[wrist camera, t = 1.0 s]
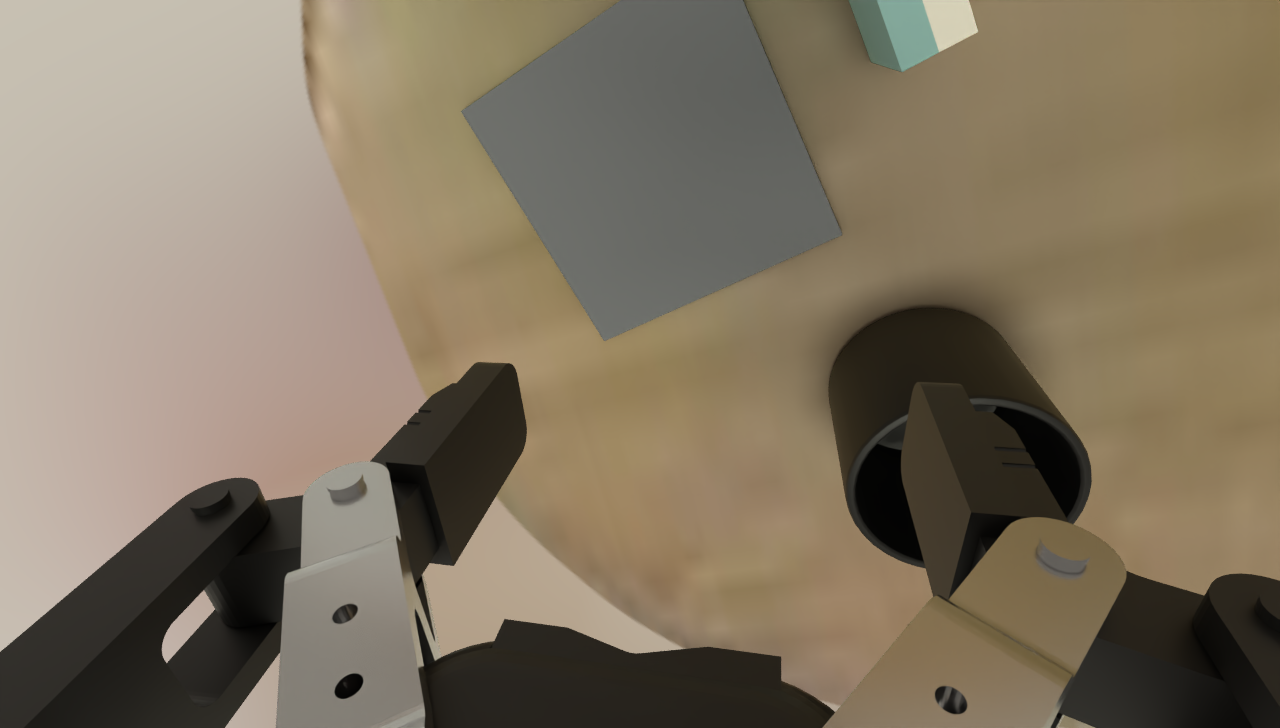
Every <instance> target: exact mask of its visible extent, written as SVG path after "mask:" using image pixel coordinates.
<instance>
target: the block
mask: <svg viewBox="0 0 1280 728" xmlns="http://www.w3.org/2000/svg"><path fill="white" fill-rule="evenodd" d="M849 3H850V5H851V8H852V11H853V14H854V16H855V19H856V22H857V25H858V27H859V30H860V33H861V36H862V38H863V41H864V44H865V47H866V49H867V52H868V55H869V58H870V60H871V62H872V63H875V64H878V65H881V66H885V67H888V68H891V69H894V70H897V71H900V72H903V71H905V70H907V69H909V68H911V67H913V66H914V65H916V64H918V63H920V62H922V61H924V60H926V59H928V58H930V57H931V56H933V55H935V54H937V53H939V52H941V51H943V50H945V49H947V48H948V47H950V46H952V45H954V44H956V43H958V42H960V41H962V40H964V39H965V38H967V37H969V36H971V35H973V34H975V33H977V32H978V30H977V26H976V23H975V20H974V16H973V13H972V9H971V6H970V3H969V0H849Z"/></svg>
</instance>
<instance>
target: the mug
mask: <svg viewBox="0 0 1280 728" xmlns="http://www.w3.org/2000/svg"><path fill="white" fill-rule="evenodd" d="M917 382H929V383H952V384H961V385H962V386H963V388H964V390H965V392H966V393H967V395H968V397H969V399H970V401H971V403H972V405H973V407H974V409H975V411H982V412H993V413H994V414H995V415H997V416H998V417H999V418H1001V419H1002V420H1003V421H1004V422H1006V423H1007V424H1008V425H1010V426H1011V427H1012V428H1014V429H1015V431H1016V433H1017V434H1018V436H1019V438H1020V439H1021V441H1022V443H1023V445H1024V446H1025V448H1026V452H1027V453H1029V455H1030V457H1031V458H1032V460H1033V462H1034V463H1035V469H1038V470H1039V472H1040V474H1041V476H1042V477H1043V479H1044V481H1045V482H1046V484H1047V486H1048V488H1049V489H1050V491H1051V493H1052V494H1053V496H1054V498H1055V500H1056V501H1057V503H1058V505H1059V506H1060V508H1061V510H1062V512H1063V513H1064V515H1065V517H1066V518H1067V520H1068V522H1069V523H1071V524H1074V523H1075V521H1076V520H1077V518H1078V517H1079V515H1080V514H1081V512H1082V511H1083V509H1084V507H1085V504H1086V502H1087V500H1088V497H1089V493H1090V488H1091V482H1092V481H1091V465H1090V461H1089V457H1088V453H1087V451H1086V449H1085V447H1084V445H1083V443H1082V442H1081V440H1080V438H1079V437H1078V435H1077V434H1076V433H1075V432H1074V430H1073V429H1072V428H1071V426H1070V425H1069V424H1068V422H1067V421H1066V420H1065V418H1064V417H1063V416H1062V415H1061V413H1060V412H1059V411H1058V409H1057V408H1056V407H1055V405H1054V404H1053V403H1052V401H1051V400H1050V399H1049V397H1048V396H1047V395H1046V394H1045V392H1044V391H1043V390H1042V388H1041V387H1040V386H1039V384H1038V383H1037V382H1036V380H1035V379H1034V378H1033V377H1032V375H1031V374H1030V373H1029V371H1028V370H1027V369H1026V367H1025V366H1024V365H1023V363H1022V362H1021V361H1020V360H1019V358H1018V357H1017V356H1016V354H1015V353H1014V352H1013V350H1012V349H1011V348H1010V346H1009V345H1008V344H1007V343H1006V341H1005V340H1004V339H1003V338H1002V336H1001V335H1000V334H999V333H998V332H997V331H996V330H995V329H993V328H992V327H991V326H990V325H988V324H987V323H985V322H983V321H981V320H980V319H978V318H976V317H974V316H971V315H968V314H965V313H962V312H958V311H953V310H948V309H934V308H925V309H913V310H909V311H904V312H900V313H896V314H894V315H891V316H888V317H885V318H883V319H881V320H879V321H877V322H875V323H873V324H872V325H870V326H868V327H867V328H866V329H864V330H863V331H861V332H860V333H859V334H858V335H857V336H856V337H855V338H854V339H852V340H851V341H850V343H849V344H848V345H847V346H846V347H845V348H844V350H843V351H842V352H841V354H840V355H839V357H838V359H837V361H836V363H835V365H834V367H833V370H832V373H831V376H830V381H829V402H830V408H831V414H832V420H833V426H834V432H835V438H836V444H837V450H838V456H839V461H840V467H841V473H842V479H843V485H844V491H845V497H846V501H847V505H848V509H849V512H850V514H851V516H852V519H853V521H854V523H855V524H856V526H857V527H858V528H859V530H860V531H861V532H862V534H863V535H864V536H865V537H866V538H867V539H868V540H869V541H870V542H871V543H872V544H873V545H874V546H876V547H877V548H879V549H880V550H882V551H883V552H885V553H886V554H888V555H890V556H892V557H894V558H896V559H898V560H900V561H902V562H905V563H908V564H911V565H914V566H917V567H922V568H926V567H925V564H924V560H923V556H922V552H921V549H920V545H919V541H918V538H917V534H916V530H915V526H914V523H913V519H912V515H911V512H910V508H909V504H908V500H907V497H906V493H905V489H904V486H903V481H902V474H901V454H902V447H903V441H904V435H905V430H906V424H907V419H908V413H909V407H910V402H911V396H912V391H913V388H914V385H915V384H916V383H917Z"/></svg>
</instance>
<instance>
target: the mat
mask: <svg viewBox="0 0 1280 728" xmlns="http://www.w3.org/2000/svg"><path fill="white" fill-rule="evenodd" d="M461 112H462V114H463V115H464V117H465V118H466V120H467V122H468V123H469V125H470V126H471V128H472V130H473V131H474V133H475V134H476V136H477V138H478V139H479V141H480V143H481V144H482V146H483V147H484V149H485V151H486V152H487V154H488V155H489V157H490V159H491V160H492V162H493V163H494V165H495V167H496V168H497V170H498V171H499V173H500V175H501V176H502V178H503V179H504V181H505V183H506V184H507V186H508V187H509V189H510V191H511V192H512V194H513V195H514V197H515V199H516V200H517V202H518V203H519V205H520V207H521V208H522V210H523V211H524V213H525V215H526V216H527V218H528V220H529V221H530V223H531V224H532V226H533V228H534V229H535V231H536V232H537V234H538V236H539V237H540V239H541V240H542V242H543V244H544V245H545V247H546V248H547V250H548V252H549V253H550V255H551V256H552V258H553V260H554V261H555V263H556V264H557V266H558V268H559V269H560V271H561V272H562V274H563V276H564V277H565V279H566V280H567V282H568V284H569V285H570V287H571V289H572V290H573V292H574V293H575V295H576V297H577V298H578V300H579V301H580V303H581V305H582V306H583V308H584V309H585V311H586V313H587V314H588V316H589V317H590V319H591V321H592V322H593V324H594V325H595V327H596V329H597V330H598V332H599V333H600V335H601V337H602V338H603V340H604V341H606V340H608V339H610V338H612V337H615V336H617V335H619V334H621V333H624V332H626V331H628V330H630V329H633V328H635V327H637V326H639V325H642V324H644V323H646V322H648V321H651V320H653V319H655V318H657V317H659V316H662V315H664V314H666V313H668V312H671V311H673V310H675V309H677V308H680V307H682V306H684V305H686V304H689V303H691V302H693V301H695V300H698V299H700V298H702V297H704V296H707V295H709V294H711V293H713V292H715V291H718V290H720V289H722V288H724V287H727V286H729V285H731V284H733V283H736V282H738V281H740V280H742V279H745V278H747V277H749V276H751V275H754V274H756V273H758V272H760V271H763V270H765V269H767V268H769V267H772V266H774V265H776V264H778V263H780V262H783V261H785V260H787V259H789V258H792V257H794V256H796V255H798V254H801V253H803V252H805V251H807V250H810V249H812V248H814V247H816V246H819V245H821V244H823V243H825V242H828V241H830V240H832V239H834V238H836V237H839V236H841V235H842V232H841V230H840V227H839V225H838V223H837V220H836V218H835V216H834V213H833V211H832V209H831V206H830V204H829V202H828V199H827V197H826V195H825V192H824V190H823V187H822V185H821V183H820V180H819V178H818V176H817V173H816V171H815V169H814V166H813V164H812V162H811V159H810V157H809V154H808V152H807V150H806V147H805V145H804V143H803V140H802V138H801V136H800V133H799V131H798V129H797V126H796V124H795V121H794V119H793V117H792V114H791V112H790V110H789V107H788V105H787V103H786V100H785V98H784V96H783V93H782V91H781V88H780V86H779V84H778V81H777V79H776V77H775V74H774V72H773V70H772V67H771V65H770V63H769V60H768V58H767V56H766V53H765V51H764V48H763V46H762V44H761V41H760V39H759V37H758V34H757V32H756V30H755V27H754V25H753V23H752V20H751V18H750V15H749V13H748V11H747V8H746V6H745V4H744V1H743V0H621V1H619V2H618V3H616V4H615V5H613V6H612V7H610V8H609V9H608V10H606V11H605V12H603V13H602V14H600V15H599V16H598V17H596V18H595V19H593V20H592V21H590V22H589V23H587V24H586V25H585V26H583V27H582V28H580V29H579V30H577V31H576V32H575V33H573V34H572V35H570V36H569V37H567V38H566V39H564V40H563V41H562V42H560V43H559V44H557V45H556V46H554V47H553V48H552V49H550V50H549V51H547V52H546V53H544V54H543V55H541V56H540V57H539V58H537V59H536V60H534V61H533V62H531V63H530V64H529V65H527V66H526V67H524V68H523V69H521V70H520V71H518V72H517V73H516V74H514V75H513V76H511V77H510V78H508V79H507V80H506V81H504V82H503V83H501V84H500V85H498V86H497V87H495V88H494V89H493V90H491V91H490V92H488V93H487V94H485V95H484V96H483V97H481V98H480V99H478V100H477V101H475V102H474V103H472V104H471V105H470V106H468V107H467V108H465V109H464V110H462V111H461Z"/></svg>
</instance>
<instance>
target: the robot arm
mask: <svg viewBox="0 0 1280 728" xmlns="http://www.w3.org/2000/svg"><path fill="white" fill-rule="evenodd" d="M526 434H527V427H526V420H525V415H524V409H523V404H522V398H521V393H520V388H519V382H518V377H517V372H516V370H515V368H514V366H513V365H512V364H509V363H486V362H477V363H475V364H474V365H473V366H472V367H471V368H470V369H469V370H468V371H467V372H466V374H465V375H464V376H463V377H462V378H461V379H460V380H459V381H458V382H457V383H452V384H451V385H449V386H447V387H446V388H444V389H442V390H440V391H439V392H437V393H435V394H434V395H432V396H431V397H430V398H429V399H428V400H427V401H426V402H425V403H424V404H423V406H422V407H421V408H420V409H419V412H418V413H415V414H414V415H413V416H412V417H411V418H410V420H408V423H407V425H404V426H403V427H402V428H401V429H400V430H399V431H398V432H397V433H396V434H395V435H394V436H393V437H392V439H391V440H390V441H389V442H388V443H387V444H386V445H385V446H384V447H383V448H382V449H381V450H380V451H379V452H378V453H377V454H376V456H375V457H374V458H373V459H372V460H371V461H370V462H357V463H351V464H347V465H344V466H341V467H338V468H335V469H333V470H331V471H329V472H327V473H326V474H324V475H322V476H321V477H319V478H318V479H317V480H315V481H314V482H313V483H312V484H311V485H310V486H309V487H308V489H307V490H306V491H305V494H304V495H302V496H295V497H288V498H281V499H274V500H267V501H265V499H264V496H263V495H262V492H261V490H260V488H259V486H258V484H257V483H256V482H255V481H253V480H251V479H247V478H231V479H226V480H221V481H218V482H214V483H211V484H209V485H206V486H204V487H201V488H199V489H197V490H195V491H193V492H192V493H190V494H188V495H187V496H185V497H184V498H182V499H181V500H180V501H178V502H177V503H176V504H175V505H173V506H172V507H171V508H170V509H169V510H167V511H166V512H165V513H164V514H163V515H162V516H160V517H159V518H158V519H157V520H156V521H154V522H153V523H152V524H151V525H150V526H149V527H147V528H146V529H145V530H144V531H143V532H142V533H140V534H139V535H138V536H137V537H136V538H134V539H133V540H132V541H131V542H130V543H128V544H127V545H126V546H125V547H124V548H123V549H121V550H120V551H119V552H118V553H117V554H116V555H114V556H113V557H112V558H111V559H110V560H108V561H107V562H106V563H105V564H104V565H103V566H101V567H100V568H99V569H98V570H97V571H95V572H94V573H93V574H92V575H91V576H90V577H88V578H87V579H86V580H85V581H84V582H83V583H81V584H80V585H79V586H78V587H77V588H75V589H74V590H73V591H72V592H71V593H69V594H68V595H67V596H66V597H65V598H64V599H63V600H61V601H60V602H59V603H58V604H57V605H55V606H54V607H53V608H52V609H51V610H49V611H48V612H47V613H46V614H45V615H43V616H42V617H41V618H40V619H39V620H38V621H36V622H35V623H34V624H33V625H32V626H31V627H29V628H28V629H27V630H26V631H25V632H23V633H22V634H21V635H20V636H19V637H17V638H16V639H15V640H14V641H13V642H12V643H10V644H9V645H8V646H7V647H6V648H4V649H3V650H2V651H1V652H0V728H225V727H226V725H227V724H228V722H229V721H230V720H231V718H232V717H233V716H234V714H235V713H236V711H237V710H238V709H239V707H240V706H241V705H242V703H243V702H244V700H245V699H246V698H247V696H248V695H249V693H250V692H251V691H252V689H253V688H254V687H255V686H256V684H257V683H258V681H259V680H260V679H261V677H262V676H263V675H264V673H265V672H266V670H267V669H268V668H269V666H270V665H271V664H272V662H273V661H274V660H275V658H276V657H277V655H278V654H279V653H280V667H279V668H280V669H279V684H278V685H279V686H278V702H277V719H276V728H1058V726H1059V724H1060V722H1061V720H1062V718H1063V716H1064V715H1066V716H1068V717H1071V718H1073V719H1076V720H1078V721H1081V722H1083V723H1086V724H1088V725H1090V726H1093V727H1095V728H1280V581H1278V580H1275V579H1271V578H1267V577H1263V576H1257V575H1252V574H1229V575H1224V576H1221V577H1219V578H1217V579H1215V580H1214V581H1213V582H1212V583H1211V585H1210V587H1209V589H1208V591H1207V592H1206V594H1205V596H1203V595H1200V594H1197V593H1193V592H1190V591H1187V590H1183V589H1180V588H1177V587H1173V586H1170V585H1166V584H1163V583H1160V582H1156V581H1153V580H1150V579H1147V578H1144V577H1141V576H1138V575H1135V574H1133V573H1130V572H1128V571H1126V568H1125V565H1124V563H1123V561H1122V560H1121V558H1120V556H1119V555H1118V554H1117V553H1116V552H1115V550H1114V549H1113V548H1111V547H1110V546H1109V545H1108V544H1107V543H1106V542H1104V541H1103V540H1102V539H1100V538H1099V537H1097V536H1096V535H1094V534H1092V533H1091V532H1089V531H1087V530H1085V529H1083V528H1081V527H1078V526H1076V525H1073V524H1071V523H1069V522H1068V520H1067V518H1066V517H1065V515H1064V513H1063V512H1062V510H1061V508H1060V506H1059V505H1058V503H1057V501H1056V500H1055V498H1054V496H1053V494H1052V493H1051V491H1050V489H1049V488H1048V486H1047V484H1046V482H1045V481H1044V479H1043V477H1042V476H1041V474H1040V472H1039V470H1038V469H1035V463H1034V462H1033V460H1032V458H1031V457H1030V455H1029V453H1027V452H1026V448H1025V446H1024V445H1023V443H1022V441H1021V439H1020V438H1019V436H1018V434H1017V433H1016V431H1015V429H1014V428H1012V427H1011V426H1010V425H1008V424H1007V423H1006V422H1004V421H1003V420H1002V419H1001V418H999V417H998V416H997V415H995V414H994V413H993V412H982V411H975V409H974V407H973V405H972V403H971V401H970V399H969V397H968V395H967V393H966V392H965V390H964V388H963V386H962V385H961V384H952V383H929V382H917V383H916V384H915V385H914V388H913V391H912V396H911V402H910V407H909V413H908V419H907V424H906V430H905V435H904V441H903V447H902V454H901V474H902V481H903V486H904V489H905V493H906V497H907V500H908V504H909V508H910V512H911V515H912V519H913V523H914V526H915V530H916V534H917V538H918V541H919V545H920V549H921V552H922V556H923V560H924V564H925V567H926V571H927V575H928V578H929V582H930V586H931V590H932V593H933V598H931V599H930V600H929V601H928V602H927V604H926V605H925V606H924V607H923V608H922V609H921V611H920V612H919V613H918V614H917V615H916V617H915V618H914V619H913V620H912V621H911V623H910V624H909V625H908V626H907V627H906V628H905V630H904V631H903V632H902V633H901V634H900V636H899V637H898V638H897V639H896V640H895V642H894V643H893V644H892V645H891V646H890V648H889V649H888V650H887V651H886V652H885V654H884V655H883V656H882V657H881V658H880V660H879V661H878V662H877V663H876V664H875V666H874V667H873V668H872V669H871V670H870V672H869V673H868V674H867V675H866V676H865V677H864V679H863V680H862V681H861V682H860V683H859V685H858V686H857V687H856V688H855V689H854V691H853V692H852V693H851V694H850V695H849V697H848V698H847V699H846V700H845V701H844V703H843V704H842V705H841V706H840V707H839V709H838V710H837V711H836V712H834V711H833V710H832V709H831V708H830V707H828V706H827V705H825V704H824V703H822V702H821V701H819V700H818V699H816V698H815V697H814V696H812V695H810V694H808V693H806V692H804V691H803V690H801V689H799V688H797V687H795V686H793V685H790V684H788V683H785V682H783V681H781V657H779V656H772V655H764V654H757V653H750V652H742V651H735V650H728V649H720V648H713V647H701V648H691V649H681V650H671V651H660V652H650V653H641V654H640V653H639V654H634V653H629V652H626V651H623V650H620V649H618V648H616V647H613V646H611V645H608V644H606V643H604V642H601V641H599V640H596V639H594V638H591V637H589V636H587V635H584V634H582V633H579V632H577V631H574V630H572V629H569V628H565V627H558V626H550V625H543V624H536V623H529V622H521V621H514V620H507V619H505V620H504V622H503V624H502V626H501V628H500V630H499V633H498V634H497V637H496V639H495V641H493V642H487V643H481V644H477V645H473V646H469V647H466V648H463V649H460V650H457V651H454V652H452V653H450V654H448V655H445V656H443V657H441V652H440V647H439V642H438V639H437V633H436V628H435V624H434V619H433V614H432V610H431V605H430V600H429V596H428V591H427V586H426V583H425V579H424V576H423V572H424V571H425V569H426V568H427V566H428V565H429V563H435V564H442V565H451V566H454V565H455V563H456V561H457V560H458V558H459V556H460V555H461V553H462V551H463V550H464V548H465V546H466V545H467V543H468V542H469V540H470V538H471V537H472V535H473V533H474V532H475V530H476V528H477V527H478V525H479V523H480V521H481V520H482V518H483V517H484V515H485V513H486V512H487V510H488V508H489V507H490V505H491V503H492V502H493V500H494V498H495V497H496V495H497V494H498V492H499V490H500V489H501V487H502V485H503V484H504V482H505V480H506V479H507V477H508V475H509V474H510V472H511V470H512V469H513V467H514V465H515V464H516V462H517V460H518V459H519V457H520V455H521V454H522V452H523V449H524V446H525V442H526ZM203 590H205V592H206V594H207V596H208V597H209V599H210V601H211V602H212V604H213V606H214V608H215V610H214V611H213V613H212V614H211V615H210V616H209V617H208V618H207V619H206V620H205V621H204V622H203V624H202V625H201V626H200V627H199V628H198V629H197V630H196V631H195V633H194V634H193V635H192V636H191V637H190V638H189V639H188V640H187V641H186V642H185V644H184V645H183V646H182V647H181V648H180V649H179V650H178V651H177V653H176V654H175V655H174V656H173V657H172V658H171V659H170V660H169V661H168V663H166V662H165V660H164V658H163V656H162V642H163V639H164V636H165V634H166V632H167V630H168V628H169V627H170V625H171V624H172V623H173V622H174V621H175V619H176V618H177V617H178V616H179V615H180V614H181V613H182V612H183V611H184V610H185V609H186V608H187V607H188V606H189V605H190V604H191V603H192V602H193V601H194V599H195V598H196V597H197V596H198V595H199V594H200V593H201V592H202V591H203Z"/></svg>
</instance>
